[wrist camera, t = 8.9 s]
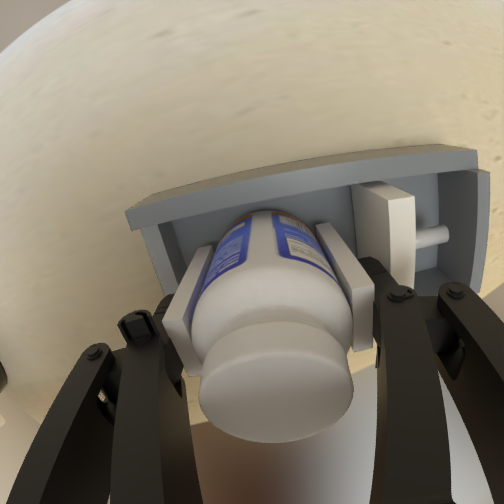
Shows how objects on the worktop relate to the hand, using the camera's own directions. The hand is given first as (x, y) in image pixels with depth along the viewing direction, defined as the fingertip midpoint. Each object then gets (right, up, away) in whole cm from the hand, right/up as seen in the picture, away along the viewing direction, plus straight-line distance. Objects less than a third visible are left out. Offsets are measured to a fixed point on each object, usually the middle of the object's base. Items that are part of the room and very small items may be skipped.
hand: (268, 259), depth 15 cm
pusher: (+7, +2, 0) cm, 8 cm away
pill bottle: (0, 0, +1) cm, 1 cm away
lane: (+3, +1, +2) cm, 4 cm away
